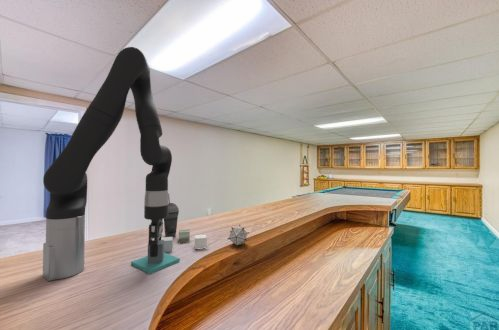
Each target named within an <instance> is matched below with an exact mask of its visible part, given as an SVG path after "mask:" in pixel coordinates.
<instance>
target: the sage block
mask: <svg viewBox="0 0 499 330" xmlns="http://www.w3.org/2000/svg"><path fill="white" fill-rule="evenodd" d="M190 232H191V231H190V228H181V229H178V243H179V242H181V243H189V242H188V241H190V235H191V233H190Z"/></svg>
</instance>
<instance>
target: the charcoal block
mask: <svg viewBox="0 0 499 330" xmlns="http://www.w3.org/2000/svg"><path fill="white" fill-rule="evenodd" d="M152 241H155V240H154V239H152ZM158 242H159V244H158V255H157V257H150V245H149V244H147V256H148V264H149V263H159V262H163V258H164V240H158Z"/></svg>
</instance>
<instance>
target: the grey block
mask: <svg viewBox="0 0 499 330" xmlns="http://www.w3.org/2000/svg"><path fill="white" fill-rule="evenodd" d="M161 240H164V253H172V252H173V249H174V238H173V237H165V236H161Z"/></svg>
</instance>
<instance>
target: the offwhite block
mask: <svg viewBox="0 0 499 330" xmlns="http://www.w3.org/2000/svg"><path fill="white" fill-rule="evenodd" d="M207 241H208V238H207V234H195V235H194V250H195V249H198V248H204V247H207V243H208V242H207Z"/></svg>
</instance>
